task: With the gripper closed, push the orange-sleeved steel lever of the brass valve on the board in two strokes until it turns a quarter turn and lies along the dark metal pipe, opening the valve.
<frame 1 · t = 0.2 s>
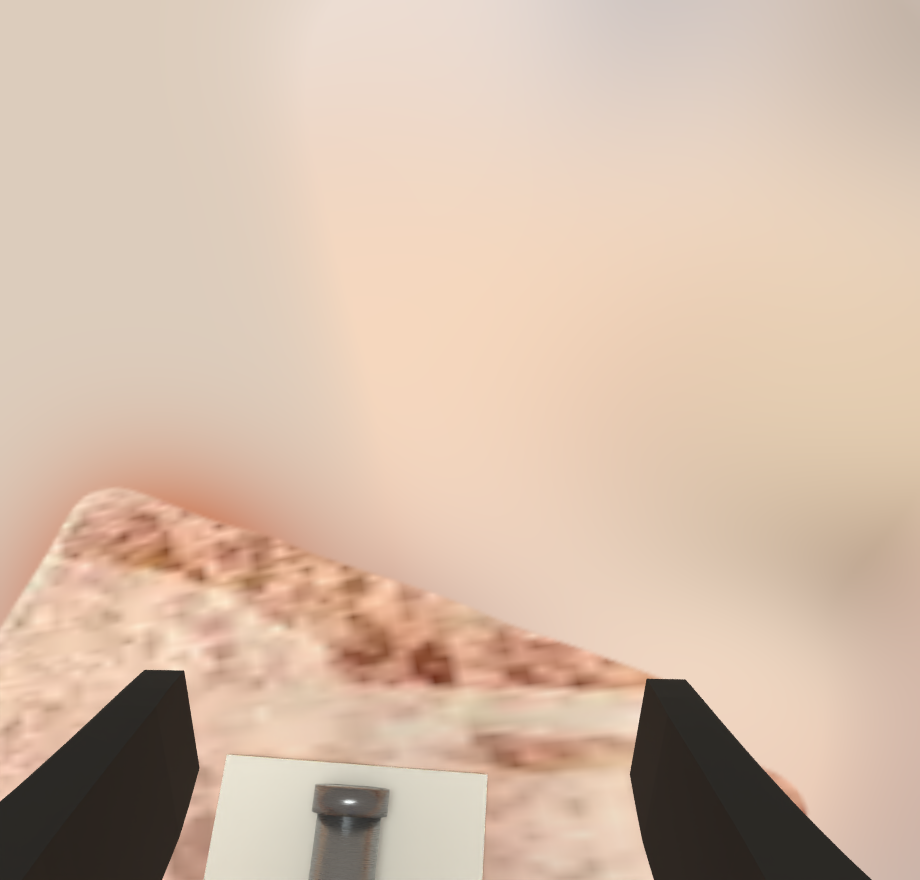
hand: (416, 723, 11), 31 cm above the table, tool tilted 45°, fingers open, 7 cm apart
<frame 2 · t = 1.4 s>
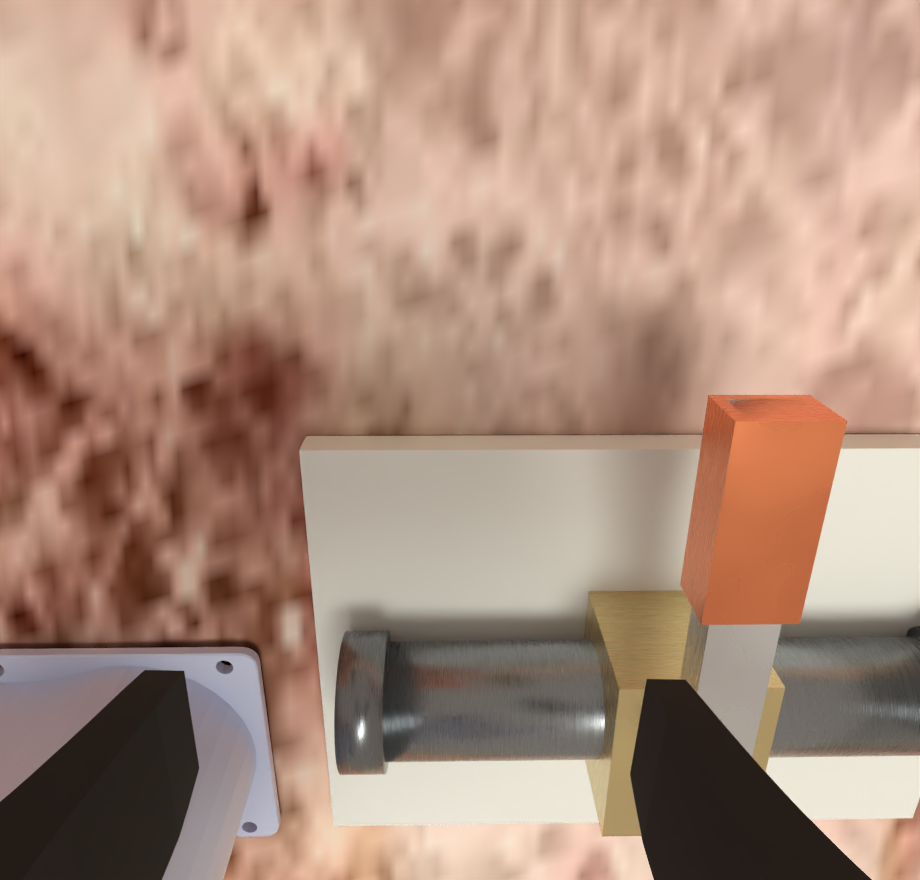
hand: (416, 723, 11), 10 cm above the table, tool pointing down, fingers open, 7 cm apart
valve board: (639, 638, 23), on the table
valve lever: (732, 648, 15), point 6 cm above the table, hinge at 0.0°
pipe and valve: (639, 638, 23), resting on valve board
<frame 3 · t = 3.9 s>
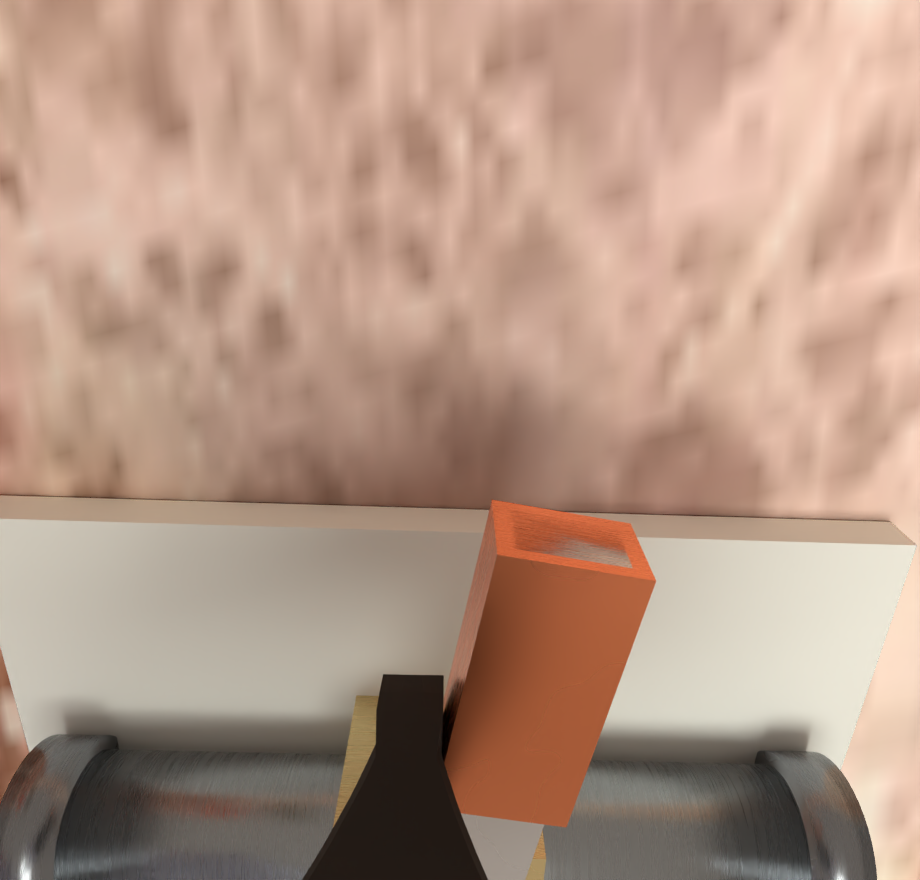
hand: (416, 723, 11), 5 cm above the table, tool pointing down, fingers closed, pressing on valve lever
valve board: (439, 743, 19), on the table
valve lever: (483, 833, 11), point 6 cm above the table, hinge at 9.2°, touching gripper
pipe and valve: (437, 843, 16), on the valve board, point 1 cm above the table
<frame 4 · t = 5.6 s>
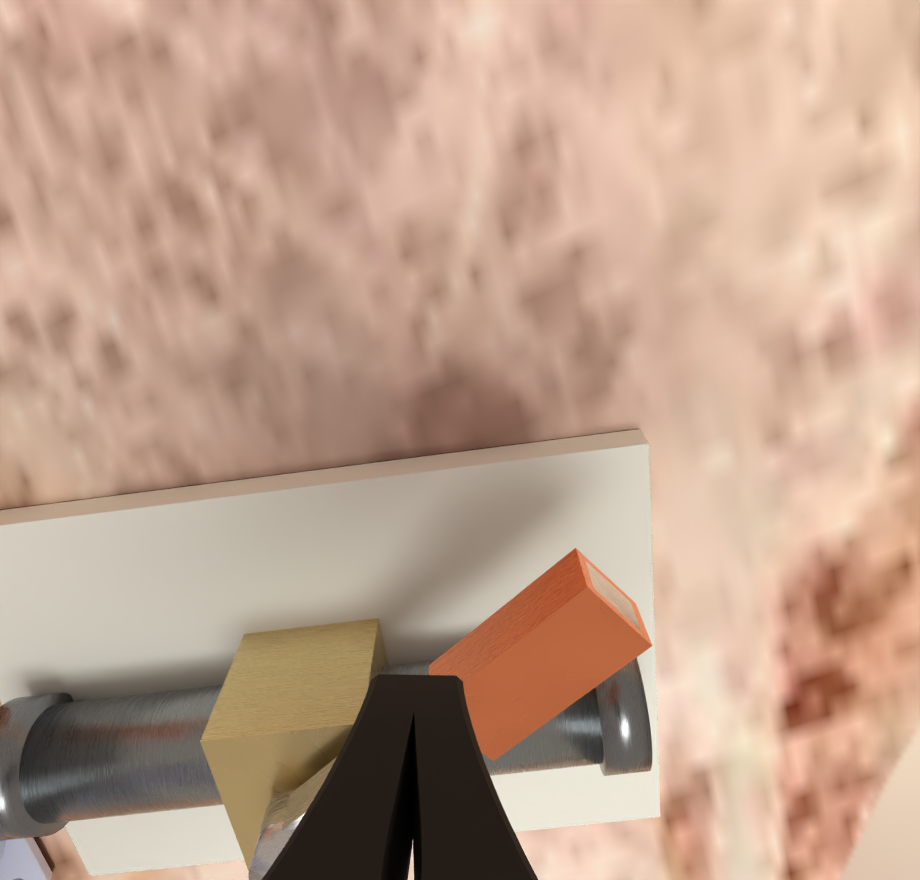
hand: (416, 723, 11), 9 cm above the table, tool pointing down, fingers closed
valve board: (333, 669, 23), on the table
valve lever: (427, 742, 16), point 6 cm above the table, hinge at 53.0°
pipe and valve: (318, 739, 20), on the valve board, point 1 cm above the table
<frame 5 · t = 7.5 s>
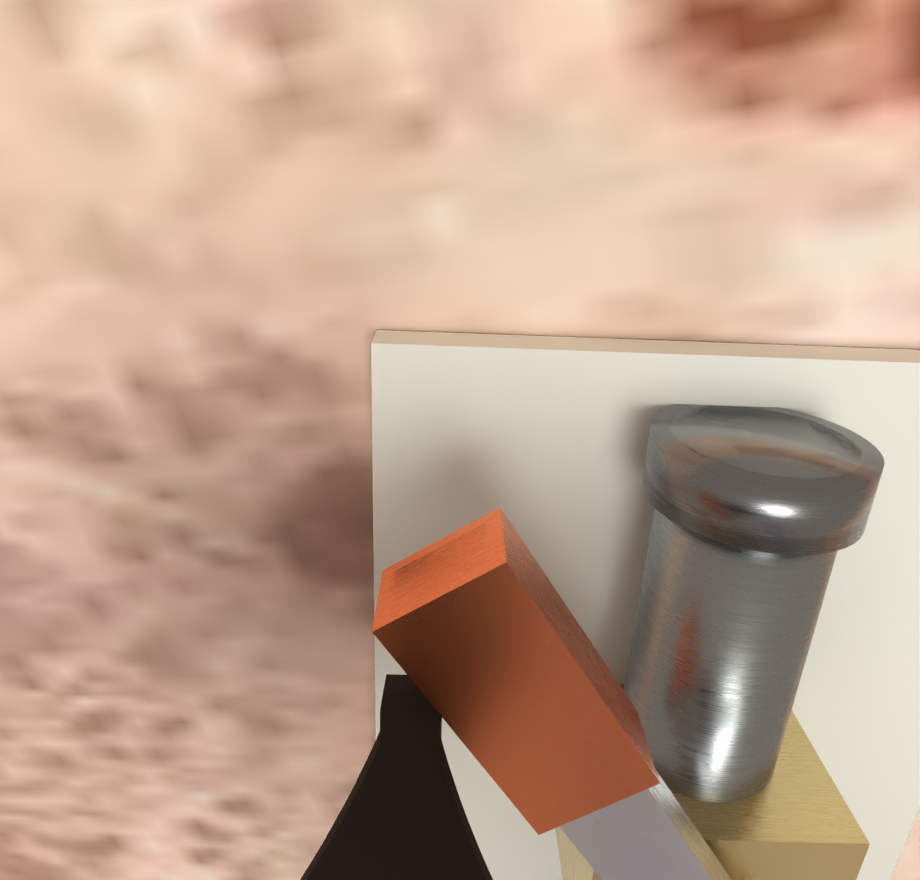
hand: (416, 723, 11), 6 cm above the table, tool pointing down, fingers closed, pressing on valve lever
valve board: (650, 718, 18), on the table
valve lever: (622, 819, 11), point 6 cm above the table, hinge at 56.3°, touching gripper
pipe and valve: (650, 718, 18), resting on valve board
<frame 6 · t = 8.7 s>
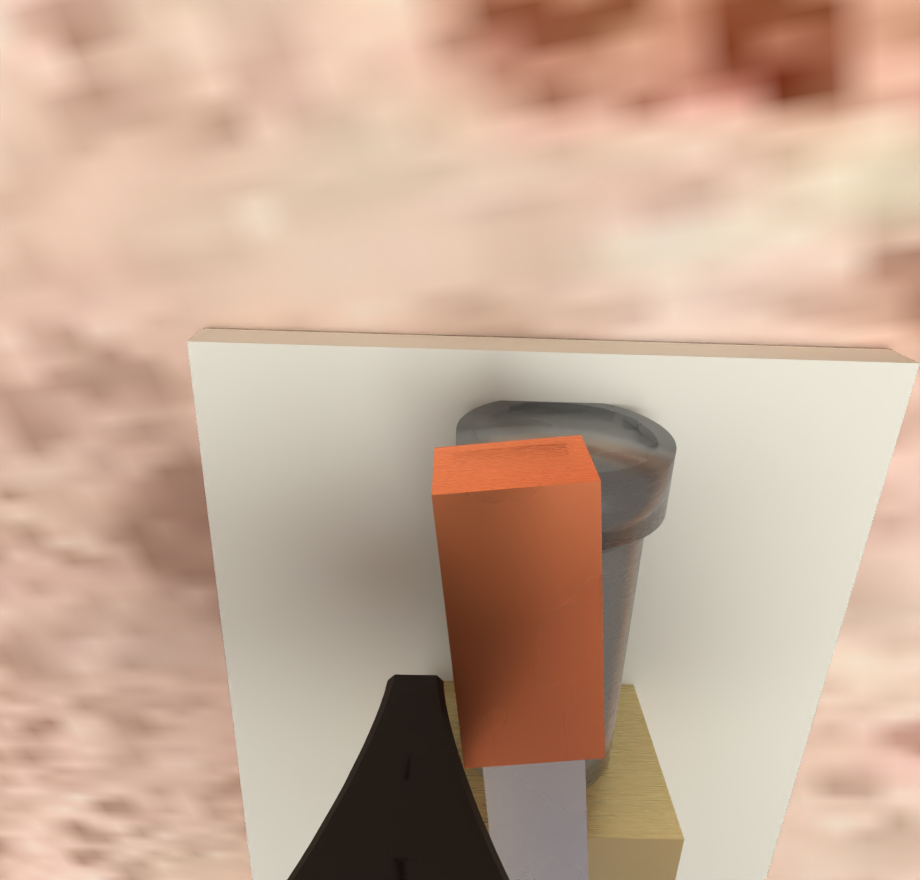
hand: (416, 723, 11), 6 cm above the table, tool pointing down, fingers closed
valve board: (518, 715, 18), on the table
valve lever: (534, 784, 11), point 6 cm above the table, hinge at 82.9°, touching gripper
pipe and valve: (518, 715, 18), resting on valve board
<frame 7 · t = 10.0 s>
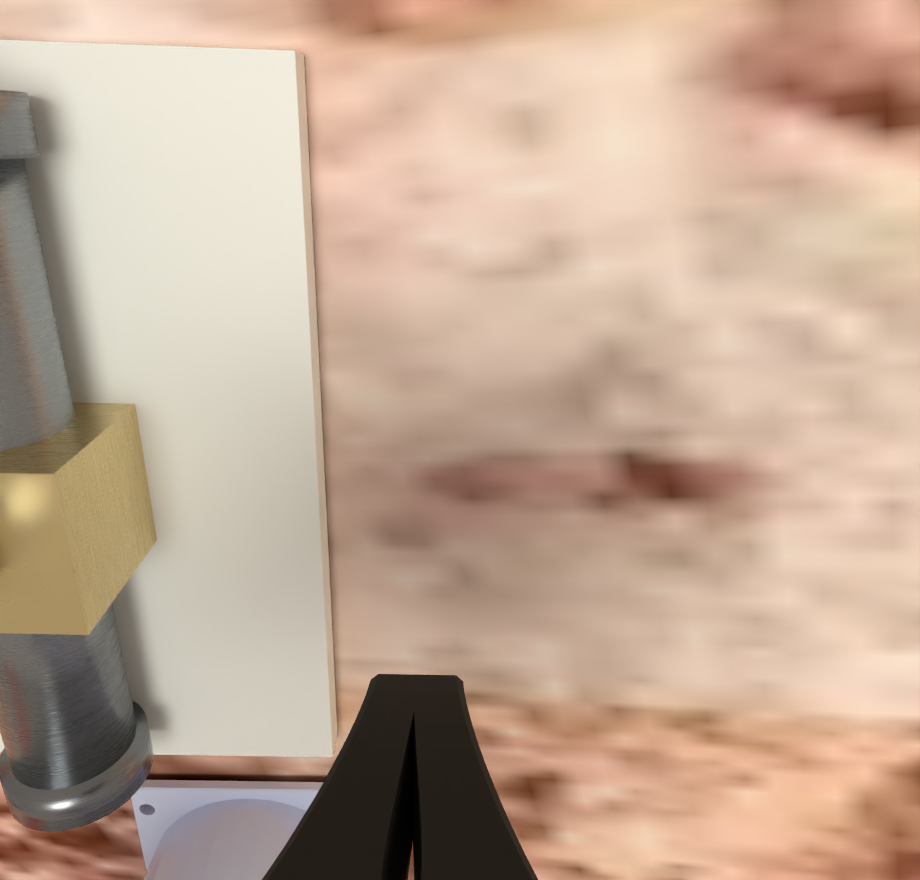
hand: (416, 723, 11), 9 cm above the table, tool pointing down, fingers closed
valve board: (69, 456, 20), on the table
pipe and valve: (10, 506, 17), on the valve board, point 1 cm above the table
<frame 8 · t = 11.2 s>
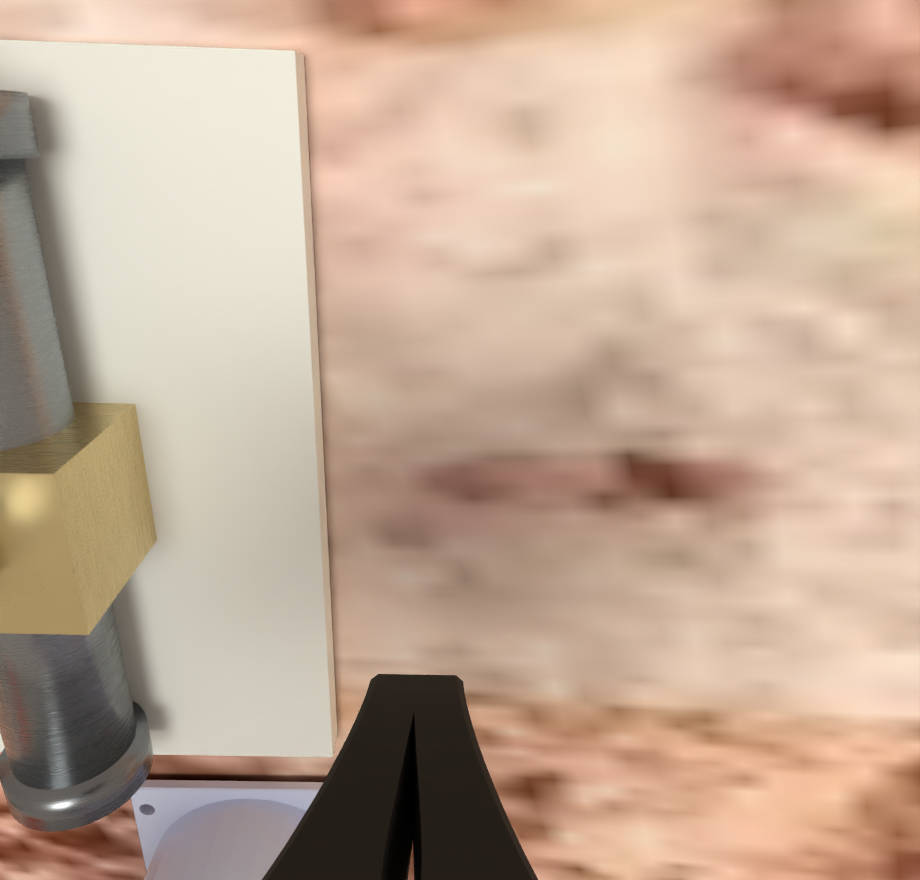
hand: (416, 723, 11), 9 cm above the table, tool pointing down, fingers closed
valve board: (69, 456, 20), on the table
pipe and valve: (69, 456, 20), resting on valve board
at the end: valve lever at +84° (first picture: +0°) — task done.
